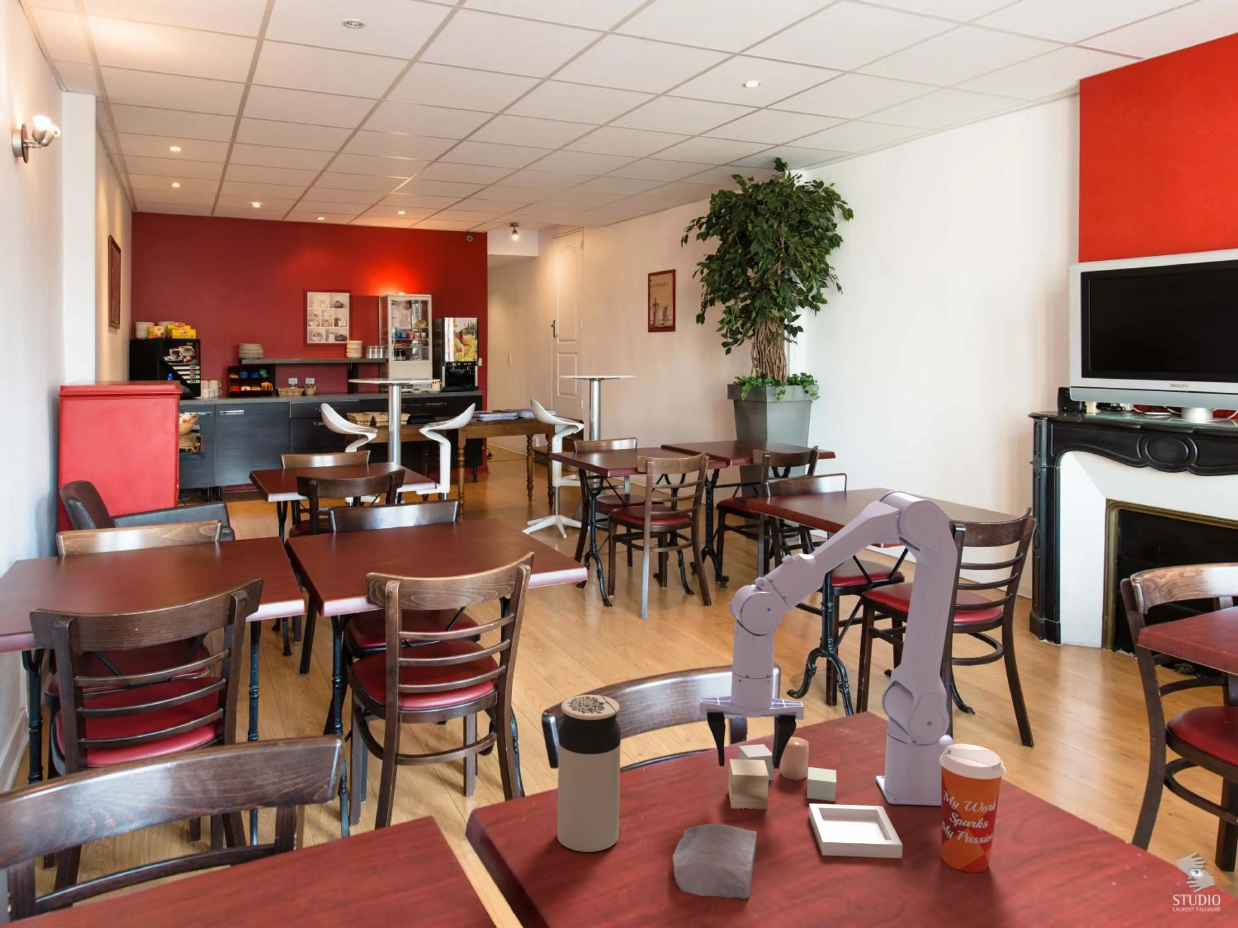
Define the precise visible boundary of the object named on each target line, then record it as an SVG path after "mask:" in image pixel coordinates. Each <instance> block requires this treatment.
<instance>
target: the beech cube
mask: <svg viewBox="0 0 1238 928" xmlns="http://www.w3.org/2000/svg"><path fill="white" fill-rule="evenodd" d="M728 763H729V767H728V768H729V769H728V795H729V796H728V797H729V801H730V802H729V803H730V807H731V809H740V808H742V810H744V808H748V809H749V810H768V805H769V804H768V801H769V783H770V782H769V775H768V771H767V768H766V764H765V761H764V760H742V759H738V758H729V762H728ZM752 808H754V809H752ZM748 809H747V810H748Z"/></svg>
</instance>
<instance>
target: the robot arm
mask: <svg viewBox="0 0 1238 928" xmlns="http://www.w3.org/2000/svg"><path fill="white" fill-rule="evenodd" d="M950 519H951V518H950V516H949V515H948V514H947V513H946V512H945V511H944V510H943V509H941V507H940V506H938V504H936V503H935V502H933V501H931V500H928V499H923V498H919V497H917V496H914V495H911V494H909V493H906V492H904V491H901V490H891V491H888V492H886V493H884V494H883V495H882V496H881V497H879V499H878V500H874V501H873V502H870V503H868V505H866V507H865V508H864V509H863V510H862V511H861V512H860V513H859V515H857V516H856V517H855V518H854V519H852V520H851V521H849V522H848V523H847V524H846V525H845V526H844V527H842V528H840V530H838V531H837V532H836V533H834V534H833V536H831V537H830V538H829V539H828V540H826V541H825V542H824V543H822V544H821V545H819V547H817V548H816V549H815V550H813V551H812V552H811V553H810V554H809V553H808V554H806V553H798V552H797V553H795V554H794V555H792V556H791V554H787V555H786V556H783V557H782V558H781V561H782V563H781V564H780V565H778V566H777V567H776V568H774V569H773V570H772V571H770V572H768V573H767V574H766V575H765V576H763V577H761V576H758V577H757V578H755V579H754V582H755V584H751V585H749V584H747V585H743V586H742V587H740V588H739V589H738V590H736V592H735V593H734V595H733V596H734V597H732V599H731V601H730V602H729V605H728V607H729V610H730V613H731V615H732V617H733V618H734V619H735V620H734V634H733V640H732V642H733V643H732V664H731V668H732V669H731V686H730V687H731V689H730V690H731V691H730V692H731V693H730V695H724V696H715V697H699V698H698V701H699V702H698V714H699V716H701V717H706V719H707V720H706V721H707V725H708V728H709V730H710V733H711V734H712V737H713V739H714V742H715V746H716V749H717V750H716V751H717V758H718V759H717V760H718V766H719V767H723V768H724V767H725V763H726V762H725V760H726V759H725V758H726V757H725V756H726V755H725V739H726V729H727V728H726V727H727V725H726V717H725V716H740V717H741V716H742V717H743V716H744V717H747V718H753V719H754V718H755V719H756V718H758V719H759V718H760V719H761V718H762V717H766V718H767V717H768V718H769V717H772V718H773V723H774V725H773V726H774V727H773V729H774V730H773V735H774V736H773V747H772V752H771V753H772V763H773V770H774V769H775V770H779V769H780V766H781V758H782V755H783V752H784V750H785V747H786V745H787V743H788V741H789V739H790V738H791V737H793V735H794V734H795V732H796V729H797V722H796V721H799V720H800V721H801V720H804V712H805V706H804V704H803V701H797V700H796V701H795V700H789V699H788V700H787V699H782V698H776V697H773V687H774V685H773V682H774V665H775V664H774V662H775V633H776V630H777V629H778V628H779V627H780V625H782V624H781V623H782V621H783V617H784V615H785V614H786V613H787V612H789V611H790V610H792V609H793V608H795V607H796V606H798V605H799V604H800V603H801V602H803V601H804V600H806V599H807V598H808V597H810V596H811V595H813V594H814V593H816V592H817V591H818V590H820V589H821V588H822V587H823V585H824V580H825V576H826V574H827V573H829V572H830V571H832V570H834V569H836V567H838V566H839V565H842V564H843V563H845V562H846V561H848V560H849V559H850V558H852V557H854V556H856V555H857V554H858V553H860V552H862V551H863V550H865V549H866V548H868V547H869V546H871V545H873V544H881V545H882V544H884V545H885V544H887V545H889V544H890V545H899V544H901V543H902V545H903V546H904V547H905V548H906V549H907V550H908V552H909V553H910V554H911V555H912V556H913V557H914V559H915V568H914V574H913V580H912V581H913V582H912V587H911V593H910V601H909V608H908V615H907V620H906V628H905V633H904V640H903V647H902V652H901V660H900V664H899V665H898V666H896V668H894V669H893V670H892V671H891V674H890V675H891V676H890V679H889V682H888V684H887V685H886V687H885V689H884V690H883V692H882V695H881V702H880V703H881V708H882V711H883V713H885V715H886V716H887V717H888V720H887V721H888V722H887V726H886V727H887V728H886V745H885V747H886V748H885V761H884V762H885V763H884V775H876V776H875V780H876V782H877V784H878V785H879V787H880V790H881V791H882V794H883V795H884V797H885V799H886V801H887V803H889V804H892V805H909V806H910V805H911V806H913V805H915V806H917V805H918V806H940V807H941V769H942V765H941V764H940V762H939V758H940V756H941V755H942V754H943V752H944V749H945V748H946V747H947V746H949V745H954V744H955V742H954V740H953V738H952V737H951V735H949V734H947V731H948V730H949V729H948V728H949V727H950V715H949V712H948V709H947V698H948V693H947V691H946V689H945V686H944V683H943V681H942V678H941V675H940V674H941V673H940V672H941V667H942V666H941V665H942V659H943V655H944V648H945V646H944V645H945V641H946V635H947V627H948V621H949V615H950V607H951V604H952V595H953V589H954V582H955V576H956V570H957V563H958V553H959V552H958V549H957V545H956V544H955V540H954V538H953V534H952V532H951V529H950V522H951V520H950Z"/></svg>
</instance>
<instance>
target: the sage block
mask: <svg viewBox="0 0 1238 928" xmlns="http://www.w3.org/2000/svg"><path fill="white" fill-rule="evenodd" d="M806 785H807V787H806V798H807V799H814V800H822V801H828V802H829V801H830V802H836V798H837V797H836V794H837V793H836V792H837V770H836V769H827V768H820V767H810V766H808V772H807V784H806Z"/></svg>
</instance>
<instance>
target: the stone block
mask: <svg viewBox="0 0 1238 928" xmlns="http://www.w3.org/2000/svg"><path fill="white" fill-rule="evenodd" d="M756 850H757V832H756V831H755V830H748V829H745V828H741V827H738V826H732V825H730V824H722V823H714V822H713V823H707V824H699V825H698V824H696V825H695V826H691V827H688V828H687V829H685V830H684V831H683V836H682V837H681V838H680V839H679V842H678V843H677V845H676V847H675V850H674V853H673V854H672V859H671V860H672V863H673V865H672V866H673V868H672V869H673V877H674V879H675V883H676V885H677V886H678V888H679V889H680V890H681V891H682V892H684V893H690V894H693V895H697V896H704V897H707V896H709V897H723V898H727V899H740V900H747V899H749V897H750V894H751V889H752V881H753V880H752V879H753V874H754V866H755V857H756V852H757V851H756Z"/></svg>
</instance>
